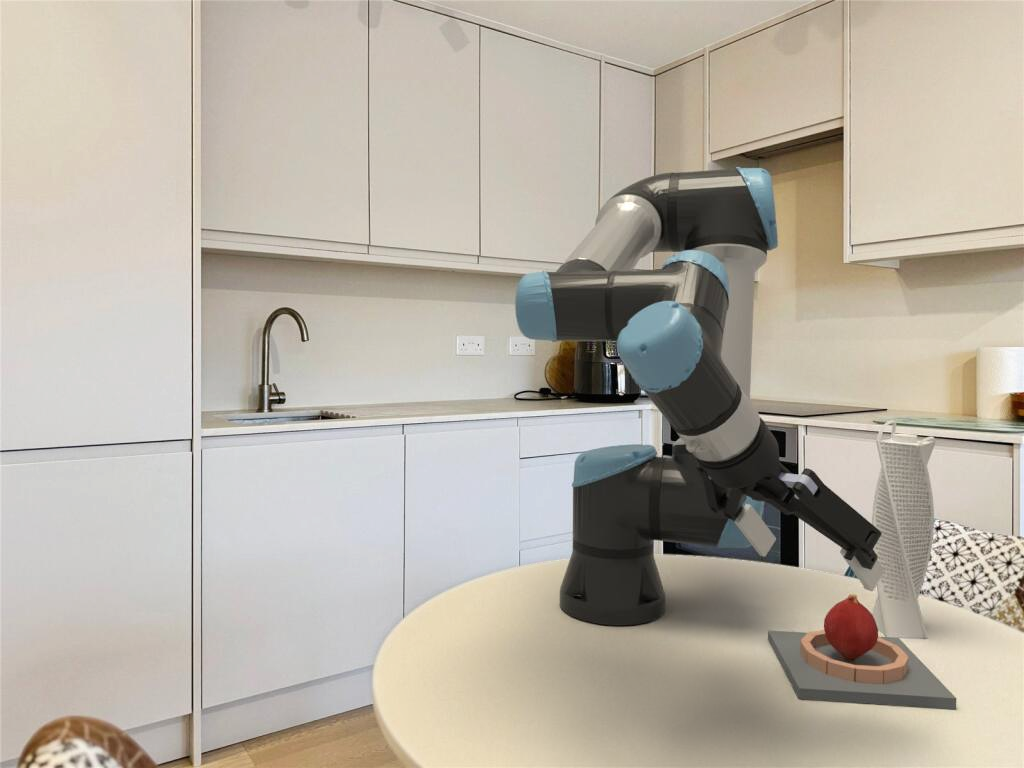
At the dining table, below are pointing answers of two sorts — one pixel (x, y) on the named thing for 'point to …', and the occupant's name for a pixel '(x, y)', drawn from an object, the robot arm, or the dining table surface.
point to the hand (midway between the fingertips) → (818, 562)
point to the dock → (858, 672)
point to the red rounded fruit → (850, 628)
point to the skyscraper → (902, 531)
